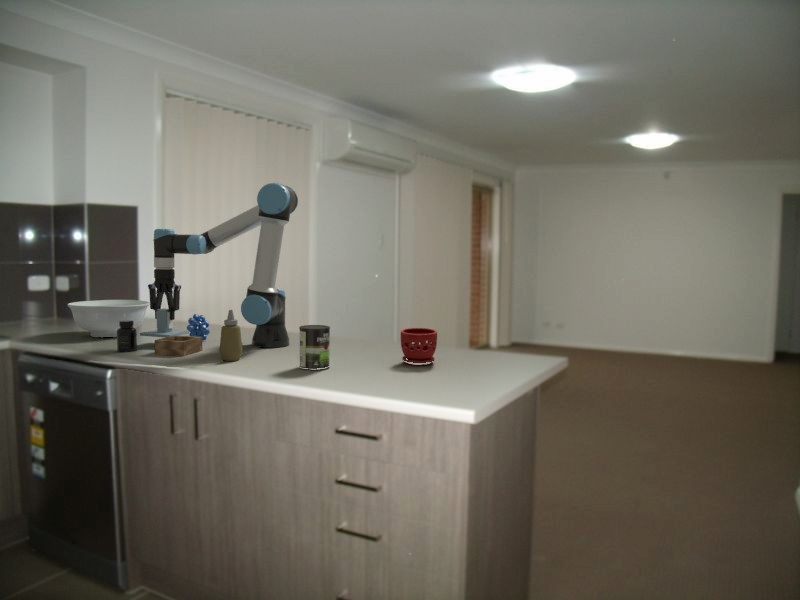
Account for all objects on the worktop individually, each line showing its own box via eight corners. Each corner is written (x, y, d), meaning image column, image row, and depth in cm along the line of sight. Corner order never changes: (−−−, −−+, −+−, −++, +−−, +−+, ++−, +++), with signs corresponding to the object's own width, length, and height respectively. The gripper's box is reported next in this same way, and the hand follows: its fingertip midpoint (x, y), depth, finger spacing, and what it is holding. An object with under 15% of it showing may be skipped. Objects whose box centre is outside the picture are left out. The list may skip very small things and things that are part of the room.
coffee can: (335, 367, 212) (336, 326, 210) (316, 372, 203) (316, 329, 201) (312, 363, 217) (312, 323, 216) (292, 368, 208) (292, 326, 207)
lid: (188, 333, 248) (188, 308, 247) (169, 337, 236) (169, 311, 235) (160, 331, 251) (160, 306, 250) (139, 335, 239) (139, 309, 238)
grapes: (195, 345, 250) (194, 315, 249) (183, 343, 254) (183, 314, 253) (216, 341, 260) (216, 313, 259) (205, 339, 264) (204, 311, 263)
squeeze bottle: (221, 362, 215) (221, 311, 214) (217, 358, 222) (216, 309, 221) (245, 361, 219) (244, 310, 217) (239, 357, 226) (239, 308, 224)
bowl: (124, 328, 293) (124, 297, 292) (165, 335, 275) (164, 302, 273) (54, 335, 267) (53, 302, 266) (93, 344, 249) (92, 307, 247)
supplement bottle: (141, 352, 233) (140, 320, 231) (126, 355, 226) (125, 322, 225) (128, 350, 235) (127, 319, 234) (112, 353, 229) (112, 321, 228)
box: (202, 352, 233) (202, 337, 233) (184, 358, 222) (183, 341, 221) (174, 350, 236) (174, 335, 236) (154, 356, 225) (154, 340, 224)
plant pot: (394, 361, 224) (394, 328, 223) (426, 359, 229) (427, 327, 228) (408, 368, 212) (409, 333, 211) (443, 365, 217) (443, 332, 216)
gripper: (189, 268, 243) (189, 327, 245) (151, 267, 247) (151, 325, 249) (178, 269, 235) (178, 330, 238) (139, 268, 239) (139, 327, 242)
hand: (164, 327), depth 243 cm, fingers closed on lid, 4 cm apart
